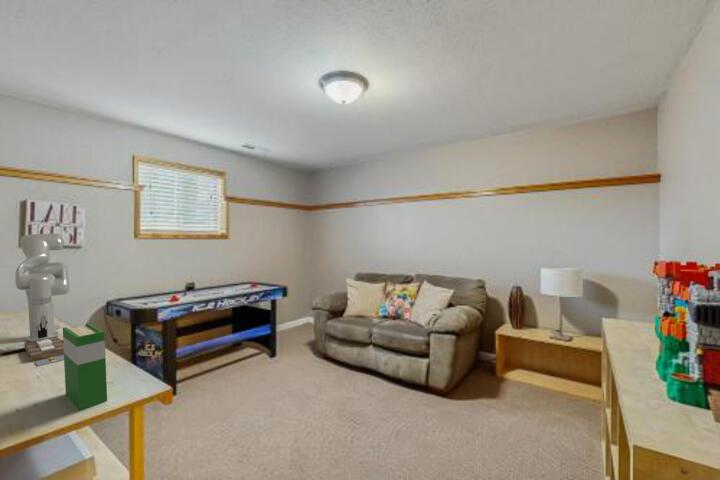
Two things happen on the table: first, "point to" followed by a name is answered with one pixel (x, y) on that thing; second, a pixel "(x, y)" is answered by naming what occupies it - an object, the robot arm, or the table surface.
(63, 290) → the robot arm
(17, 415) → the table surface
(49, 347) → the button
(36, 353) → the button board
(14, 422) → the table surface
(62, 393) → the table surface
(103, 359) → the hardback book
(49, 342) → the button middle
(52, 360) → the card
